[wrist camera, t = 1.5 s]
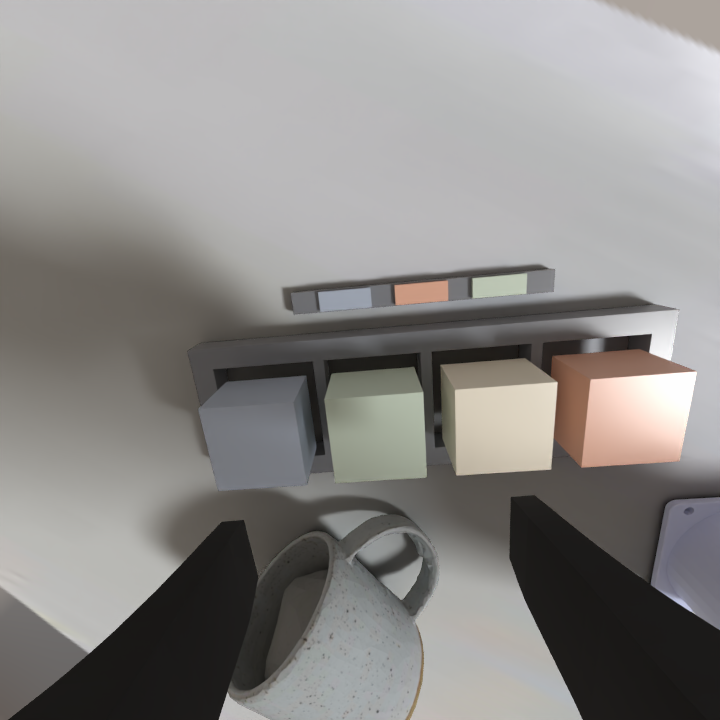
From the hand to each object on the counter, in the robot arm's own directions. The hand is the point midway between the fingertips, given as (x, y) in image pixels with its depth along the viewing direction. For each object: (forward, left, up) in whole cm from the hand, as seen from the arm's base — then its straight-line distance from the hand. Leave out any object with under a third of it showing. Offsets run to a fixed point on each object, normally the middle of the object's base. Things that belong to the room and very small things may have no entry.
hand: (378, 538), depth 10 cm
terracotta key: (-10, 0, -8) cm, 13 cm away
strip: (-3, -5, -10) cm, 11 cm away
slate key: (+5, 0, -8) cm, 9 cm away
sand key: (-5, 0, -8) cm, 9 cm away
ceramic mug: (+2, +11, -10) cm, 15 cm away
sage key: (0, 0, -8) cm, 8 cm away
